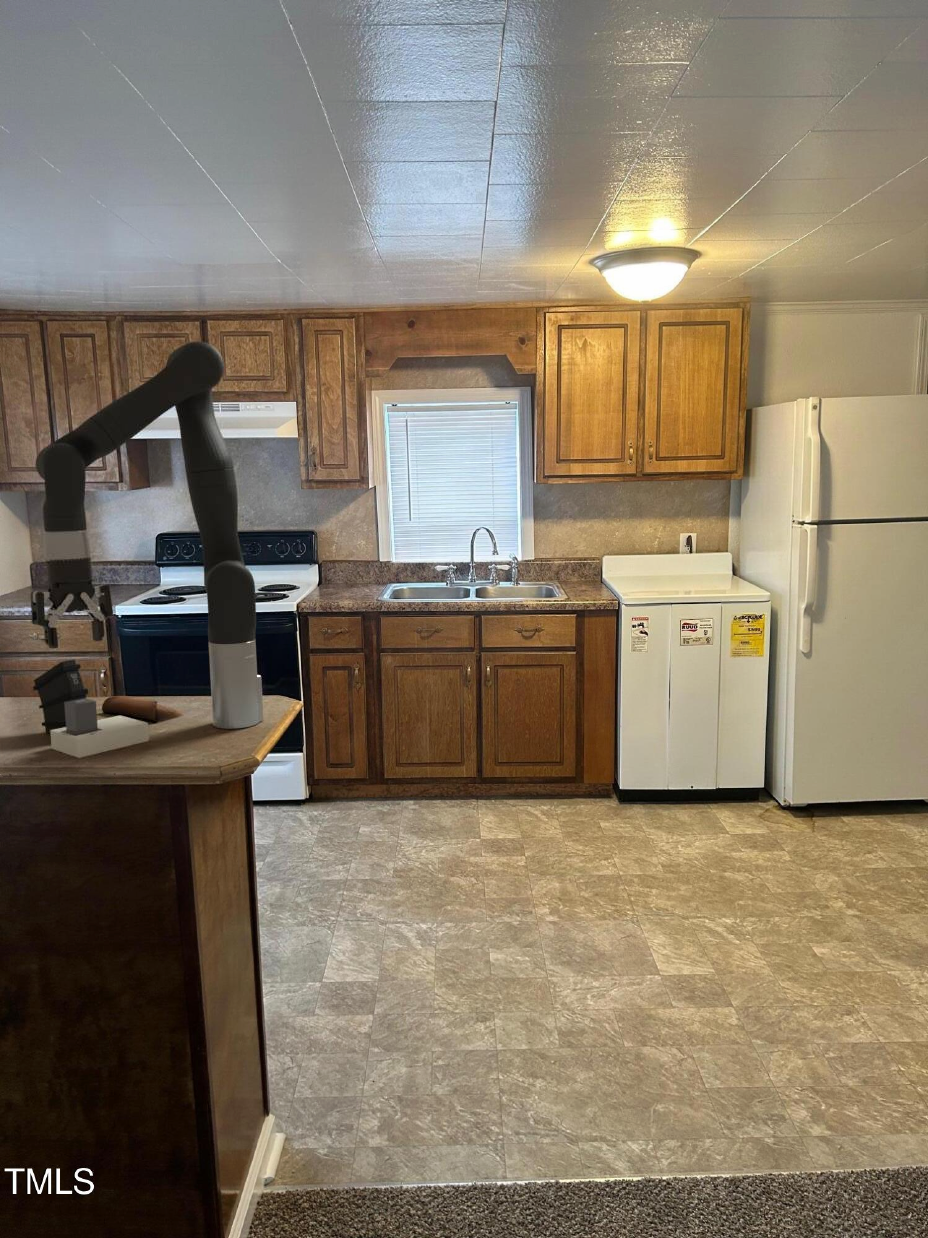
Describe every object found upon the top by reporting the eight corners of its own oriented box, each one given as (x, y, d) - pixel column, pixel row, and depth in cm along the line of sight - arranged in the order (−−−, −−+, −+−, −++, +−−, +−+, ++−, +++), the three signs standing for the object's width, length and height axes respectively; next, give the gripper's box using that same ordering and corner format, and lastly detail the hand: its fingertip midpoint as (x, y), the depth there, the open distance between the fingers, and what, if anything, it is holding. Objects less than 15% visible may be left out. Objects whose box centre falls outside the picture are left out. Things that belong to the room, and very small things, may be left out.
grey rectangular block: (88, 744, 171) (85, 697, 169) (99, 748, 168) (95, 700, 167) (67, 749, 168) (64, 701, 166) (78, 753, 165) (74, 704, 164)
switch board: (121, 732, 179) (119, 714, 178) (149, 740, 173) (147, 722, 172) (51, 748, 168) (50, 729, 168) (78, 758, 162) (77, 738, 161)
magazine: (87, 734, 171) (60, 661, 173) (51, 754, 179) (26, 684, 180) (104, 730, 175) (77, 658, 176) (68, 750, 182) (43, 681, 183)
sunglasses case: (188, 714, 193) (173, 691, 189) (166, 737, 188) (151, 714, 184) (134, 705, 202) (119, 683, 199) (112, 727, 198) (96, 704, 194)
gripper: (94, 552, 171) (101, 637, 174) (18, 558, 160) (27, 648, 163) (115, 553, 167) (122, 640, 169) (39, 559, 156) (48, 652, 158)
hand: (75, 644), depth 166 cm, fingers open, 8 cm apart
